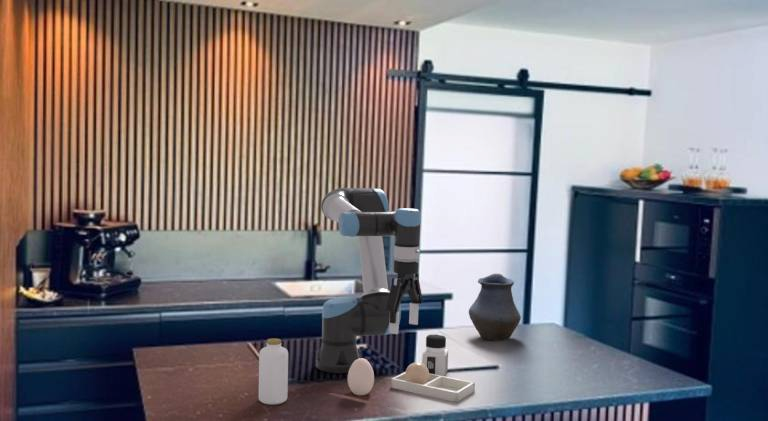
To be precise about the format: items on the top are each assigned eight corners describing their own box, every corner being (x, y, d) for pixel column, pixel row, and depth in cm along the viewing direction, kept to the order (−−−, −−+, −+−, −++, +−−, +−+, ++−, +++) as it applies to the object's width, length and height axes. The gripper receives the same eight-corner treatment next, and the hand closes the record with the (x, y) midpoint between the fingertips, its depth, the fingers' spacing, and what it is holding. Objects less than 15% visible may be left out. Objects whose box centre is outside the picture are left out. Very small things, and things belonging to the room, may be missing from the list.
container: (444, 378, 240) (446, 339, 239) (421, 376, 241) (422, 337, 240) (447, 371, 247) (449, 333, 246) (424, 369, 249) (426, 331, 248)
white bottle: (259, 396, 217) (260, 336, 216) (288, 396, 218) (289, 336, 216) (257, 405, 209) (258, 343, 207) (286, 405, 210) (287, 344, 208)
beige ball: (400, 386, 227) (401, 363, 227) (412, 380, 233) (413, 357, 233) (421, 391, 223) (422, 367, 223) (433, 385, 230) (433, 361, 229)
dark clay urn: (466, 342, 285) (468, 279, 283) (469, 329, 307) (471, 270, 305) (520, 346, 282) (522, 282, 280) (519, 333, 303) (521, 273, 301)
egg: (377, 393, 223) (378, 356, 222) (368, 401, 215) (369, 363, 214) (352, 389, 225) (353, 353, 224) (343, 397, 218) (344, 360, 217)
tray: (390, 389, 226) (391, 378, 226) (410, 379, 237) (410, 369, 236) (456, 404, 215) (457, 393, 214) (474, 393, 225) (474, 382, 225)
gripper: (398, 266, 209) (396, 339, 211) (434, 256, 231) (431, 322, 233) (375, 263, 212) (373, 335, 214) (412, 253, 234) (410, 318, 236)
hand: (403, 328), depth 223 cm, fingers open, 13 cm apart
